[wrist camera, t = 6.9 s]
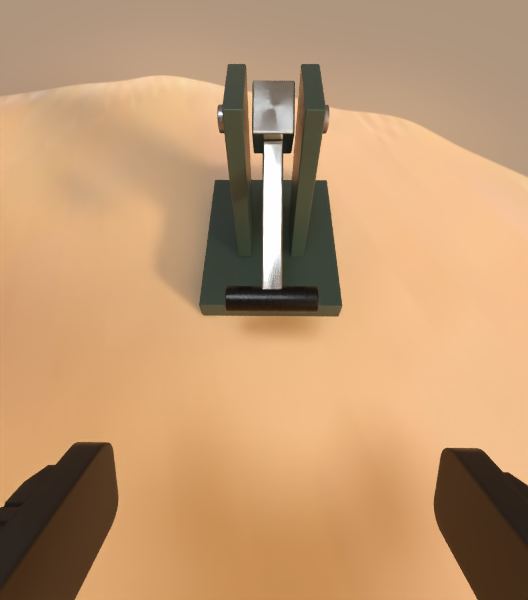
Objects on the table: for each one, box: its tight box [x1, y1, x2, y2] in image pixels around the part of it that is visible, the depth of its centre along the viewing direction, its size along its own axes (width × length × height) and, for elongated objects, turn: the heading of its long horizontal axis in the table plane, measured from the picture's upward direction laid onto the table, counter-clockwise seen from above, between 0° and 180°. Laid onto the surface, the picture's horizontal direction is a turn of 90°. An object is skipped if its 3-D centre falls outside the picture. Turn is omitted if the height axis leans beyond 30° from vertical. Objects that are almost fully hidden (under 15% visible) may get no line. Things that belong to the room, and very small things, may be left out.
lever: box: [225, 81, 319, 313], centre depth 19 cm, size 12×5×2 cm
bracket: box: [199, 64, 342, 316], centre depth 23 cm, size 13×10×13 cm
